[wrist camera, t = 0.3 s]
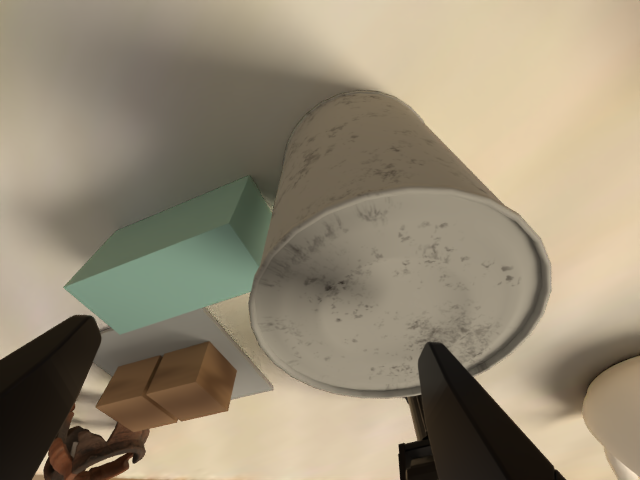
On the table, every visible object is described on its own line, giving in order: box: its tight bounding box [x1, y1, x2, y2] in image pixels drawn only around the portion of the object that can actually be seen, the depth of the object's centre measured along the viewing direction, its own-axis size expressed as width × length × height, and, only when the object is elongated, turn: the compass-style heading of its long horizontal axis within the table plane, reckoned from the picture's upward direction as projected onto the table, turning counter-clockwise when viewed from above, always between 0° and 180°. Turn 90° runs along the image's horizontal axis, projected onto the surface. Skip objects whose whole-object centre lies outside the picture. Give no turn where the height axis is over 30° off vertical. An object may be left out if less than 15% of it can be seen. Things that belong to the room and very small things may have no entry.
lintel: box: [63, 175, 272, 335], centre depth 21 cm, size 11×4×6 cm, turn 113°
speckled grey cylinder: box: [248, 91, 551, 399], centre depth 16 cm, size 10×10×12 cm
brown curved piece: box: [44, 403, 150, 480], centre depth 36 cm, size 12×10×8 cm
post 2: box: [146, 341, 237, 421], centre depth 30 cm, size 5×5×4 cm
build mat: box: [93, 307, 273, 400], centre depth 32 cm, size 14×14×1 cm
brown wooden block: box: [96, 355, 178, 432], centre depth 31 cm, size 5×5×4 cm
